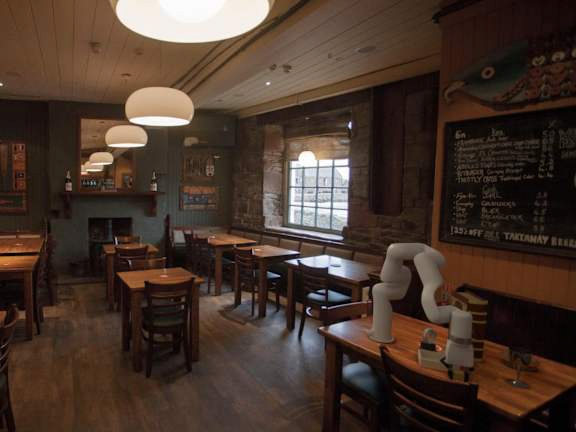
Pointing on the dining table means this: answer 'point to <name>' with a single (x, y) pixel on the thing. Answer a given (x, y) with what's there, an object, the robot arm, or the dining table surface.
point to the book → (433, 360)
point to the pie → (505, 358)
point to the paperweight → (458, 375)
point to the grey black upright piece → (429, 344)
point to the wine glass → (519, 363)
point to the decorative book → (478, 312)
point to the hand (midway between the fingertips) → (457, 379)
